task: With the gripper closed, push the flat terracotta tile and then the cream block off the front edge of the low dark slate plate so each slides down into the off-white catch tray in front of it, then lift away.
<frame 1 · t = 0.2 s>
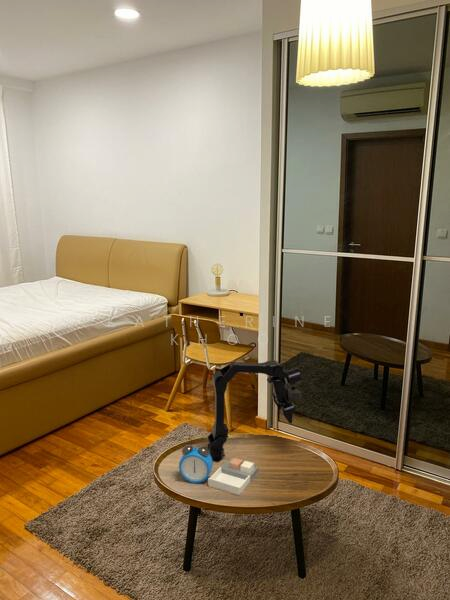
hand: (287, 418, 209), 15 cm above the table, tool pointing down, fingers open, 9 cm apart
catch tray: (229, 484, 186), on the table
cream block: (247, 469, 192), point 2 cm above the table, touching slate plate
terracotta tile: (236, 466, 194), point 2 cm above the table, touching slate plate
slate plate: (239, 472, 194), on the table
alarm clock: (196, 479, 190), on the table
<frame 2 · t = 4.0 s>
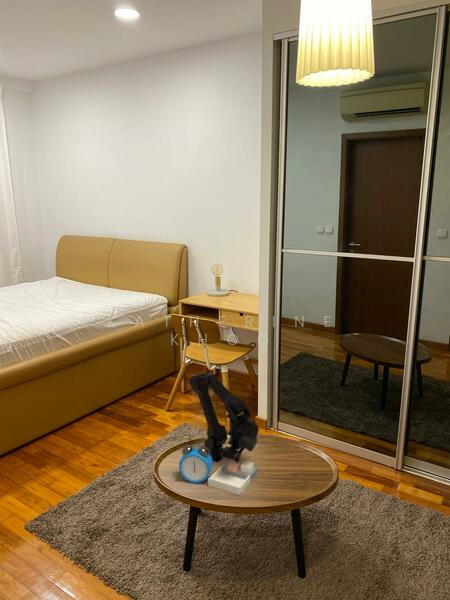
hand: (237, 463, 195), 4 cm above the table, tool pointing down, fingers closed
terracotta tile: (234, 469, 193), point 3 cm above the table, touching gripper, slate plate
everything else where it was.
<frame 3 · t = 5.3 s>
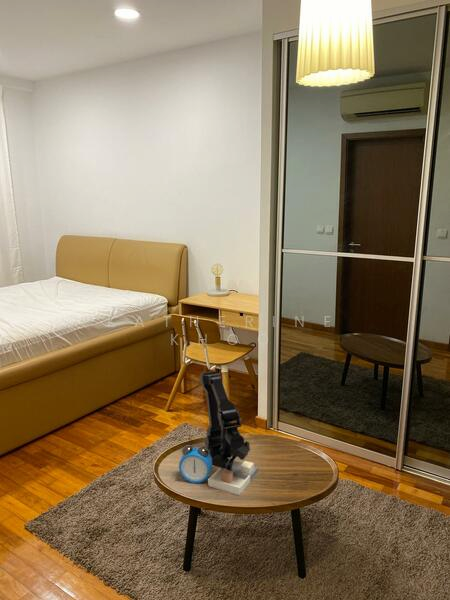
hand: (229, 471, 189), 4 cm above the table, tool pointing down, fingers closed
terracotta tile: (228, 474, 188), point 3 cm above the table, tilted 94°, touching catch tray, gripper
everything else where it was.
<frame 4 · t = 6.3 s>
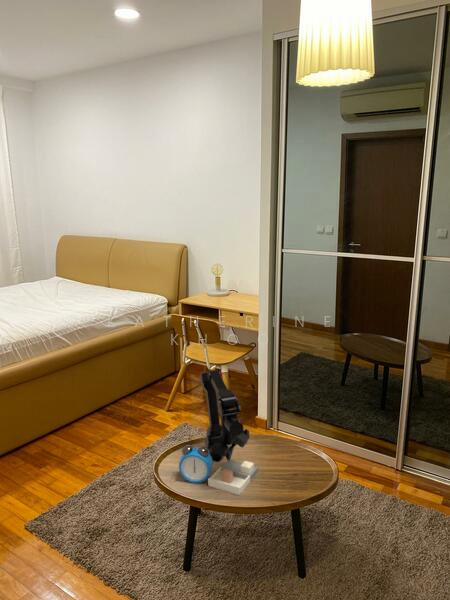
hand: (228, 459, 187), 9 cm above the table, tool pointing down, fingers closed
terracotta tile: (228, 474, 189), point 3 cm above the table, tilted 90°, touching catch tray
everything else where it was.
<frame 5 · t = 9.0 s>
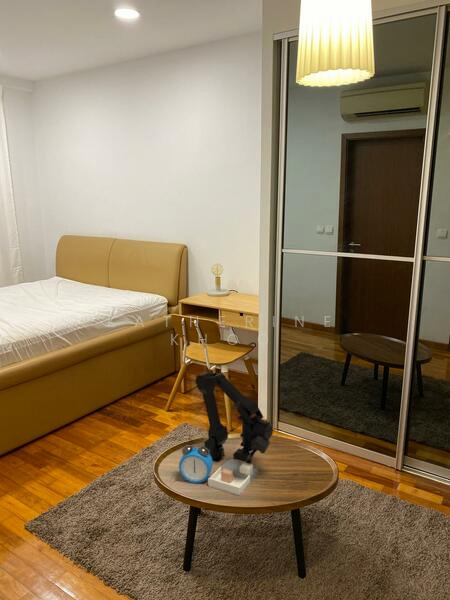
hand: (249, 465, 193), 4 cm above the table, tool pointing down, fingers closed
cream block: (246, 471, 191), point 3 cm above the table, touching gripper
everything else where it was.
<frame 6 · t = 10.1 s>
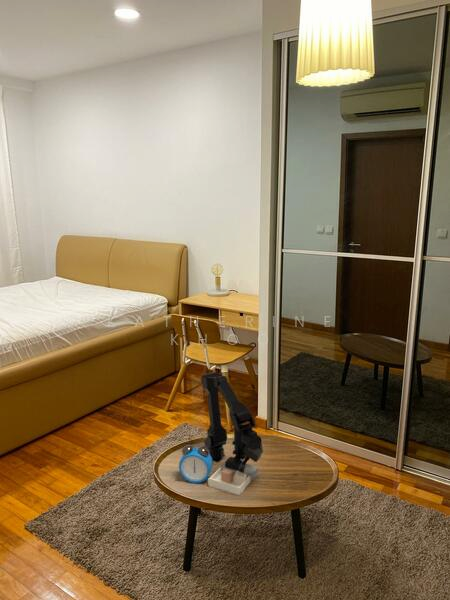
hand: (242, 473, 187), 4 cm above the table, tool pointing down, fingers closed
cream block: (241, 476, 187), point 3 cm above the table, tilted 94°, touching catch tray, gripper
everything else where it was.
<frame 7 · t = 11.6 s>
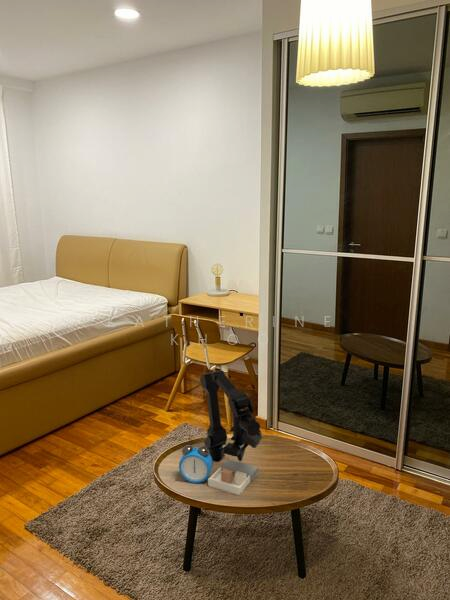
hand: (240, 460, 185), 10 cm above the table, tool pointing down, fingers closed
cream block: (241, 476, 187), point 3 cm above the table, tilted 90°, touching catch tray
everything else where it was.
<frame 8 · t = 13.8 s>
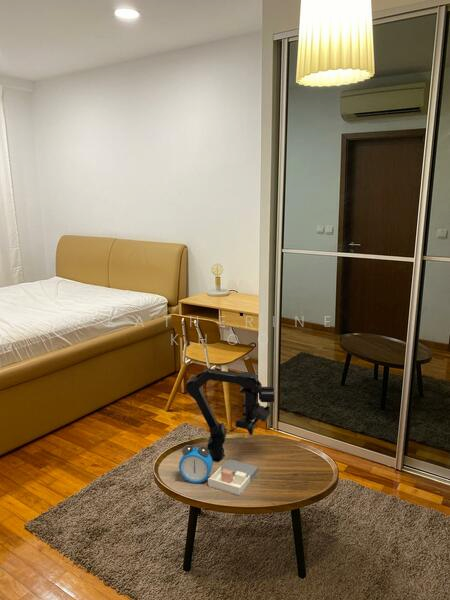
hand: (251, 434, 202), 12 cm above the table, tool pointing down, fingers closed
nothing on the table moved.
at the end: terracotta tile inside the target area (3.2 cm from its centre), point 2.6 cm above the table; cream block inside the target area (5.6 cm from its centre), point 2.6 cm above the table; alarm clock moved 0.2 cm from its start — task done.
